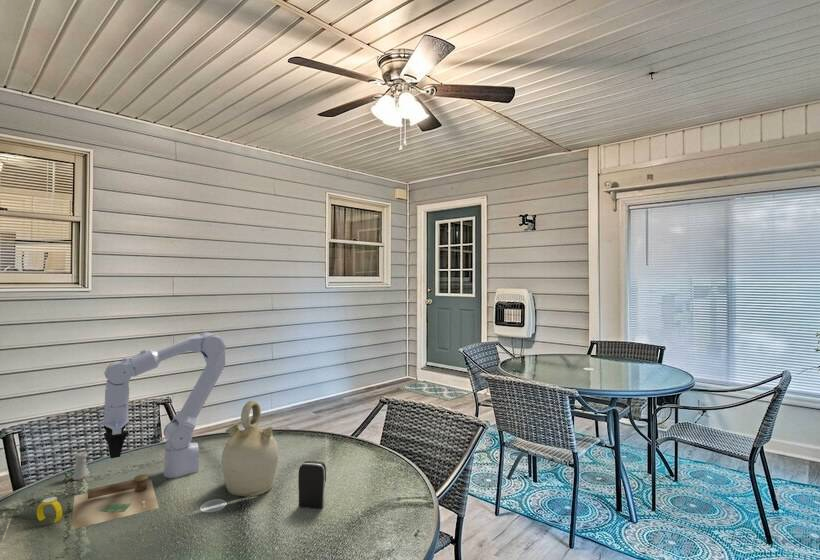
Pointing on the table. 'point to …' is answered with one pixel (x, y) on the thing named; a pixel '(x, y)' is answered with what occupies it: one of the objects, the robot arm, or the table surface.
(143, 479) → the peg lever
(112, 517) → the tan wooden board
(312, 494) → the battery charger
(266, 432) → the jug
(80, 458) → the rook chess piece
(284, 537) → the table surface
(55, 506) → the watch
